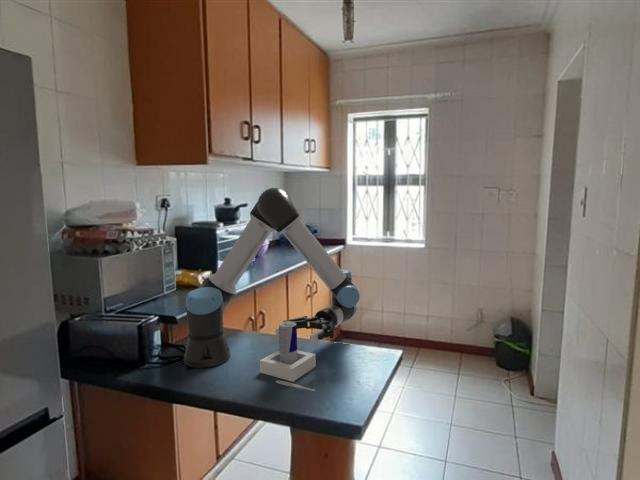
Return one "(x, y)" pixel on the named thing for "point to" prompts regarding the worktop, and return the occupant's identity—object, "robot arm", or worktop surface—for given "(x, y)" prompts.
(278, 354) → the socket block
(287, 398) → the worktop surface
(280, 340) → the beverage can
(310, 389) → the butter knife
